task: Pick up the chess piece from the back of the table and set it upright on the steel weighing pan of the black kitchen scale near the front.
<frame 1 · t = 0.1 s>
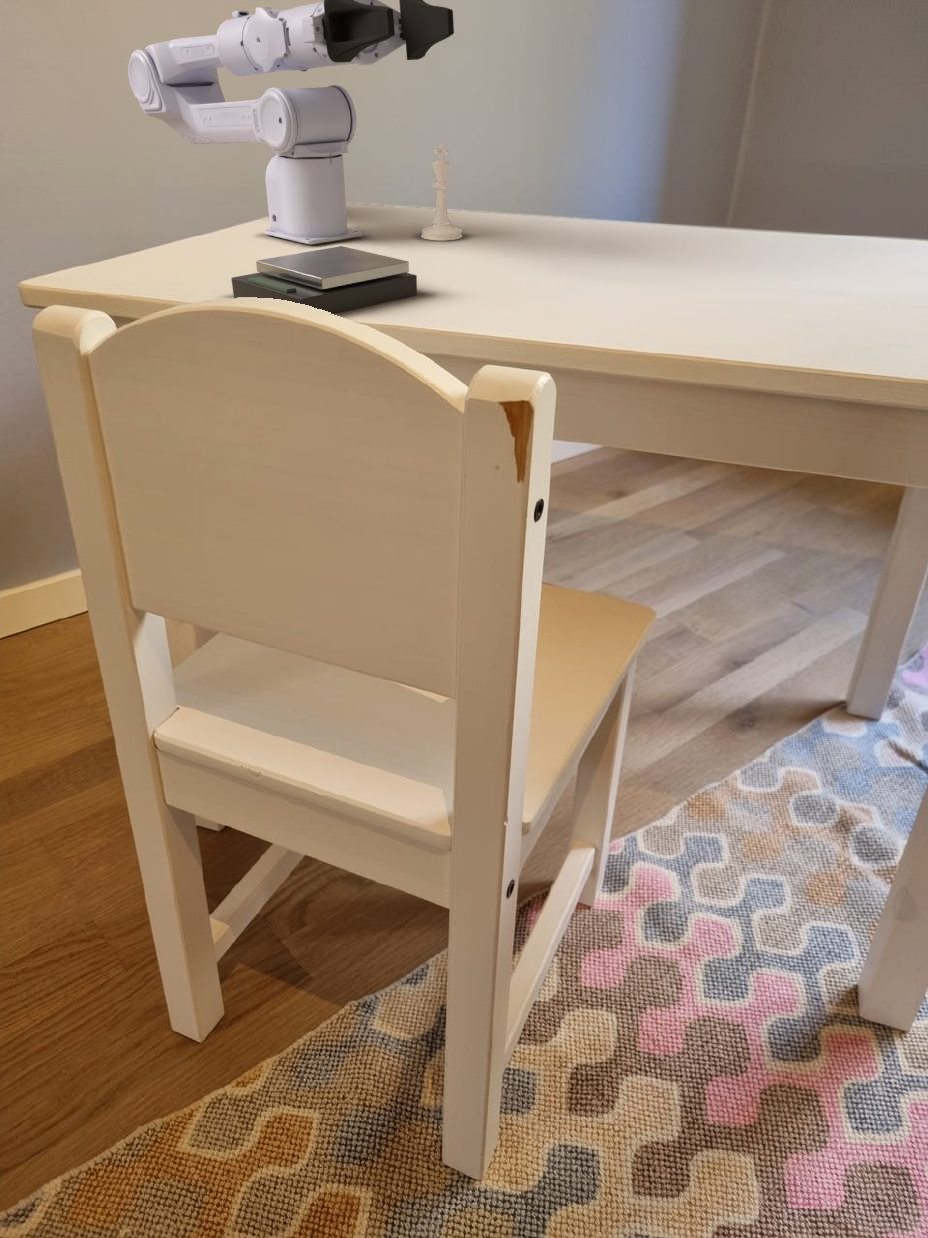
hand: (421, 21, 87), 22 cm above the table, tool horizontal, fingers open, 7 cm apart
scale: (326, 296, 86), on the table
scale pan: (332, 266, 85), point 3 cm above the table, slide at 0.0 cm
chess piece: (441, 238, 111), on the table
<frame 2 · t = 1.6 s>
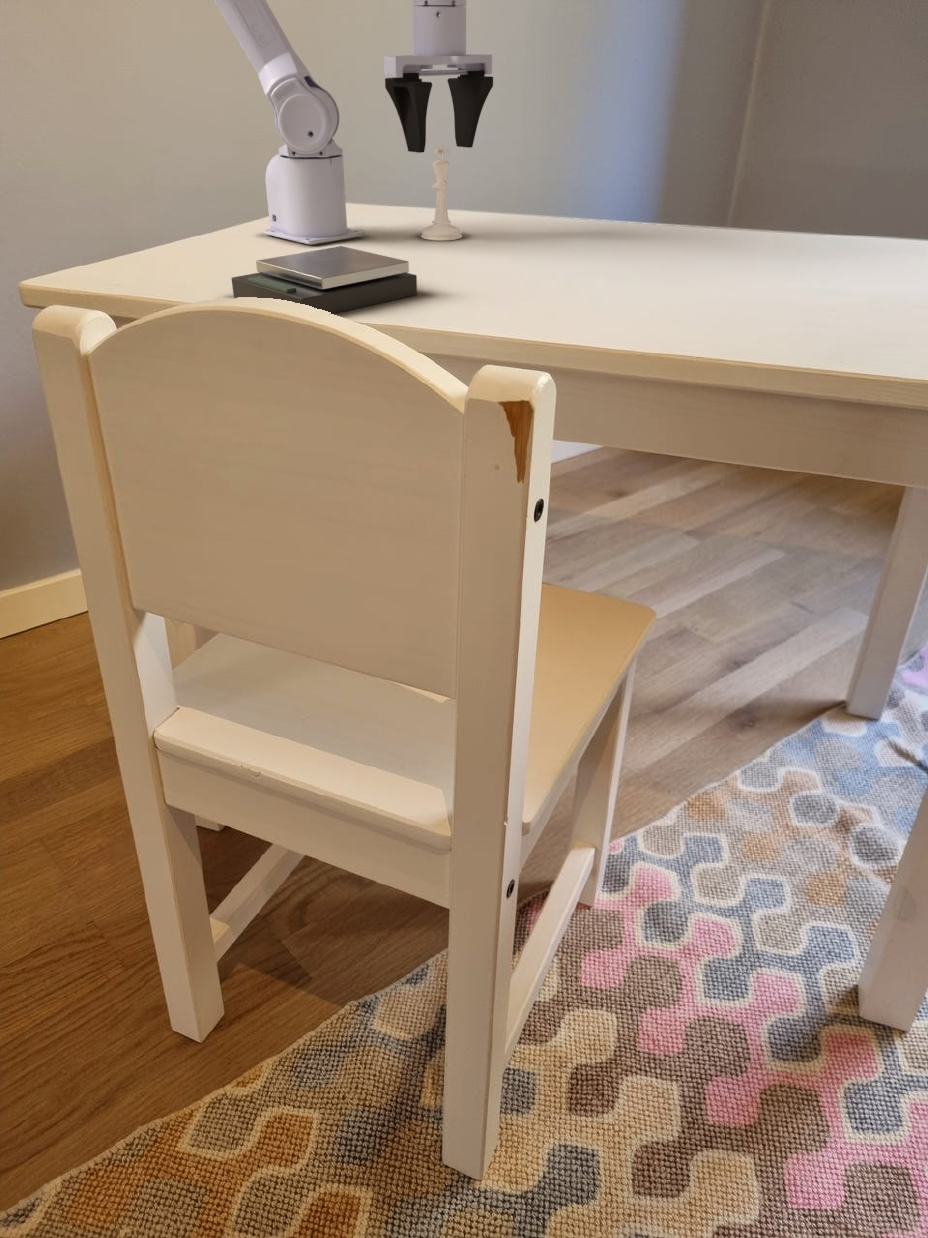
hand: (440, 149, 106), 9 cm above the table, tool pointing down, fingers open, 7 cm apart
nothing on the table moved.
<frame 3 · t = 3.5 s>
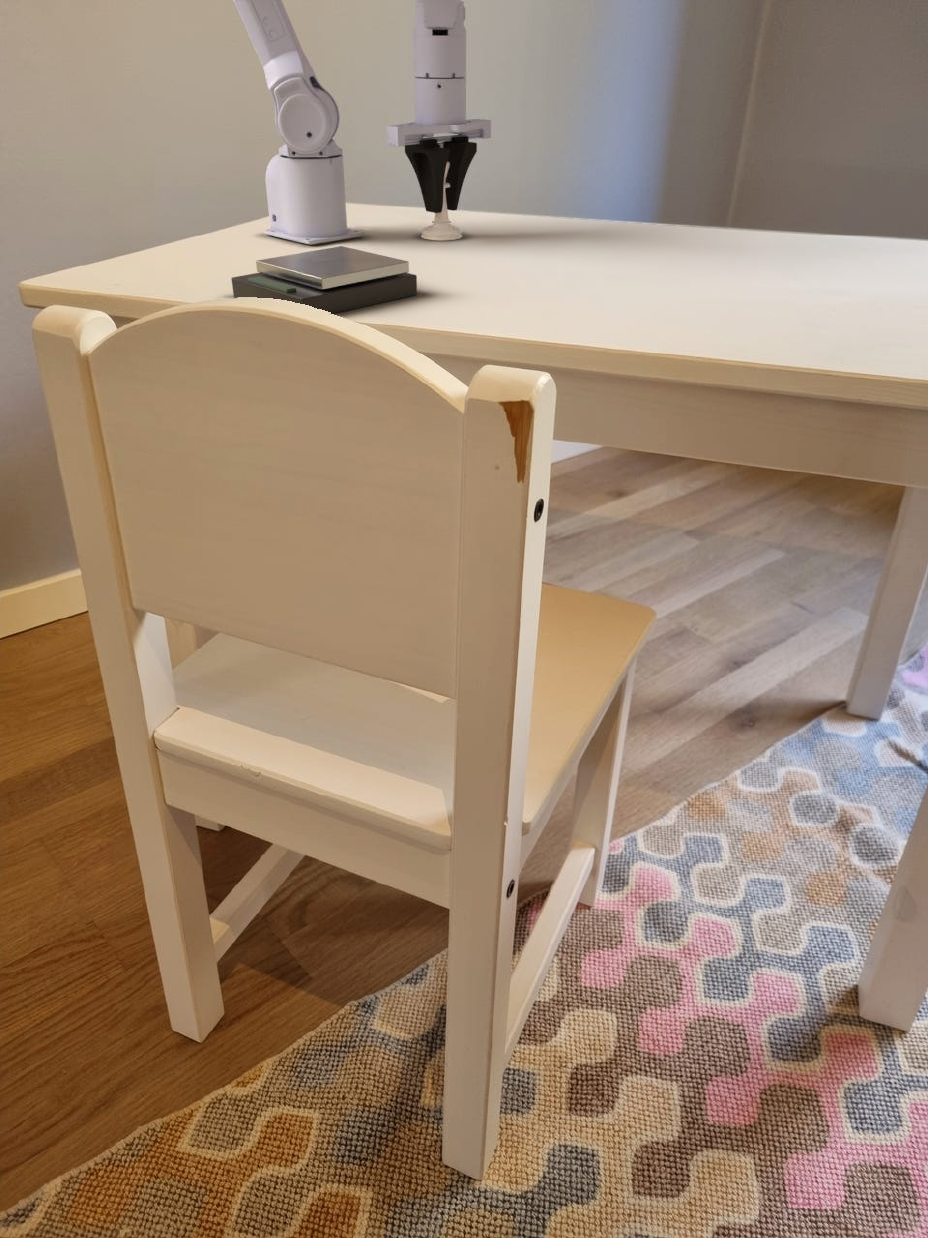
hand: (441, 210, 109), 3 cm above the table, tool pointing down, fingers closed on chess piece
chess piece: (441, 238, 111), on the table, touching gripper
everything else where it was.
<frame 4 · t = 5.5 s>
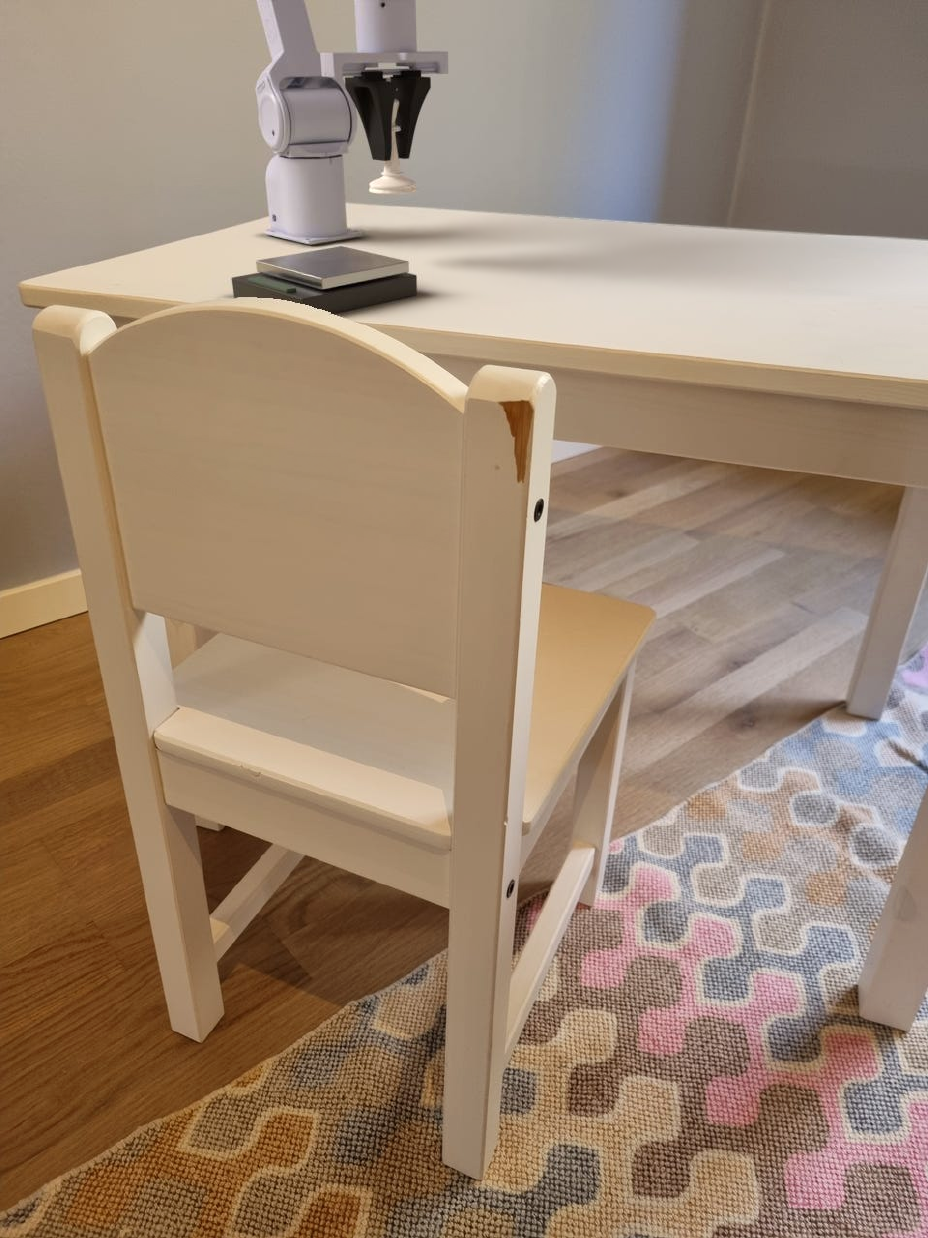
hand: (390, 158, 93), 10 cm above the table, tool pointing down, fingers closed on chess piece
chess piece: (393, 192, 95), point 7 cm above the table, touching gripper
everything else where it was.
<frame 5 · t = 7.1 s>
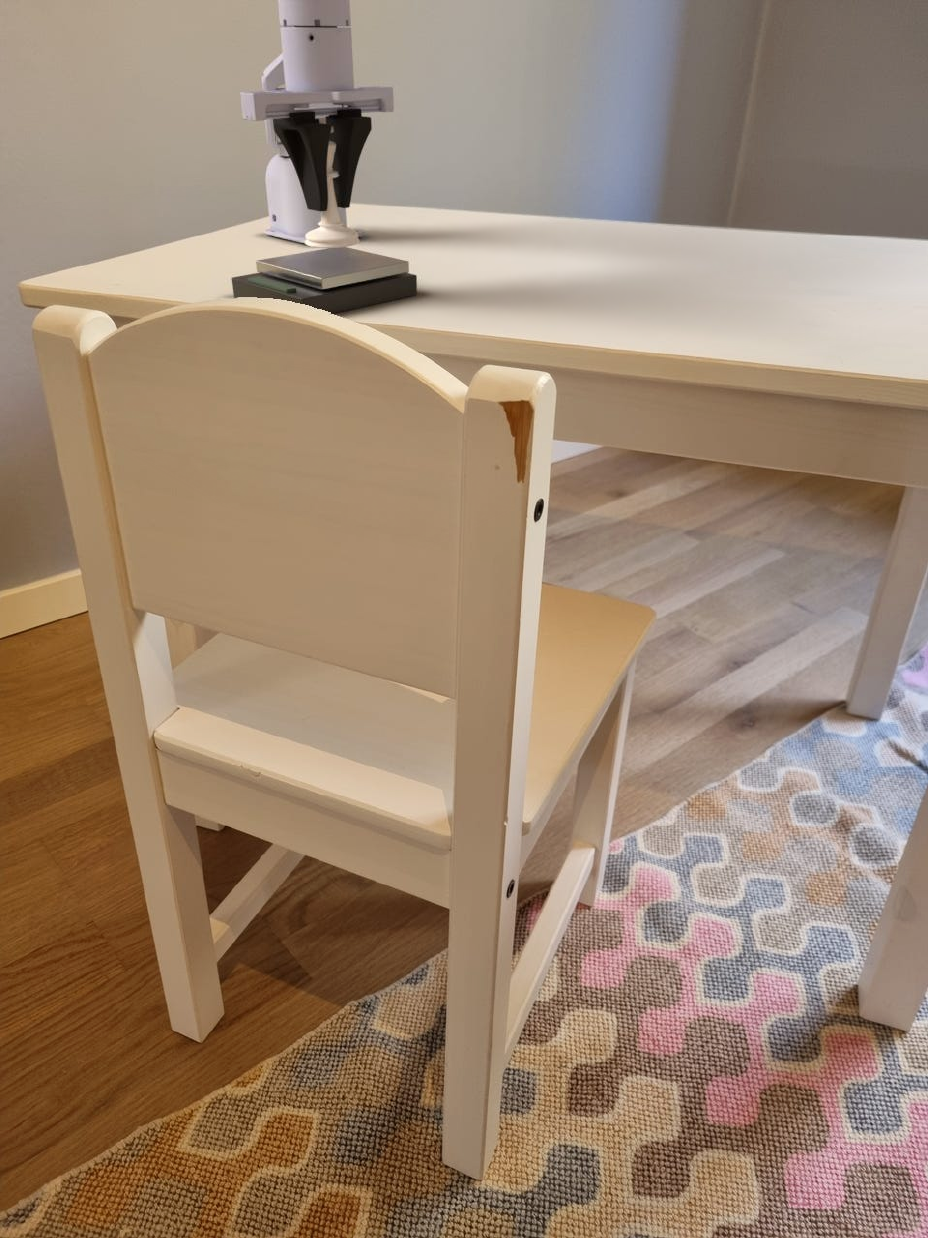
hand: (328, 208, 82), 7 cm above the table, tool pointing down, fingers closed on chess piece
chess piece: (332, 244, 84), point 4 cm above the table, touching gripper
everything else where it was.
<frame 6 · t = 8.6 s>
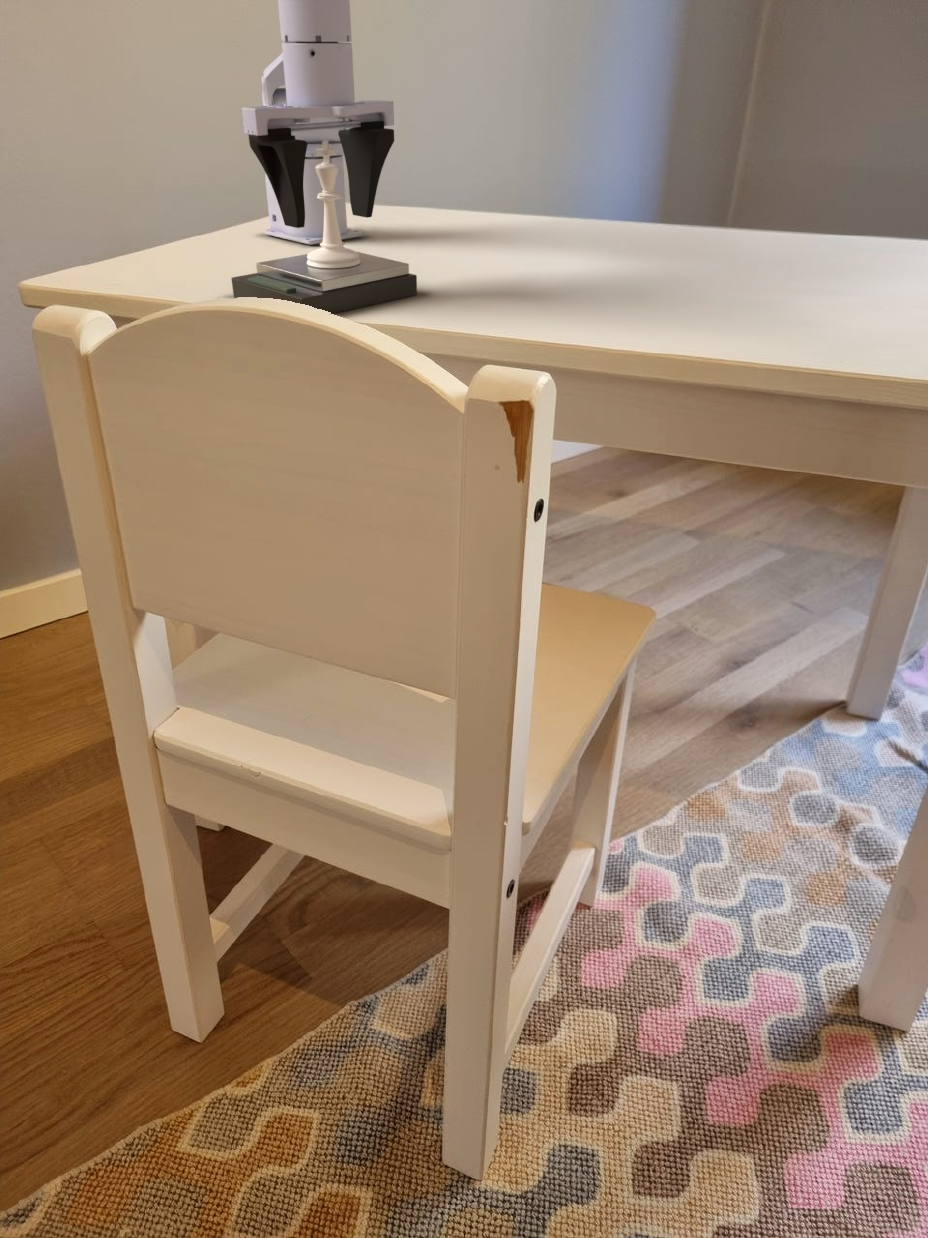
hand: (329, 220, 83), 6 cm above the table, tool pointing down, fingers open, 7 cm apart
scale pan: (332, 268, 85), point 2 cm above the table, slide at -0.2 cm, touching chess piece, scale
chess piece: (333, 265, 85), point 3 cm above the table, touching scale pan
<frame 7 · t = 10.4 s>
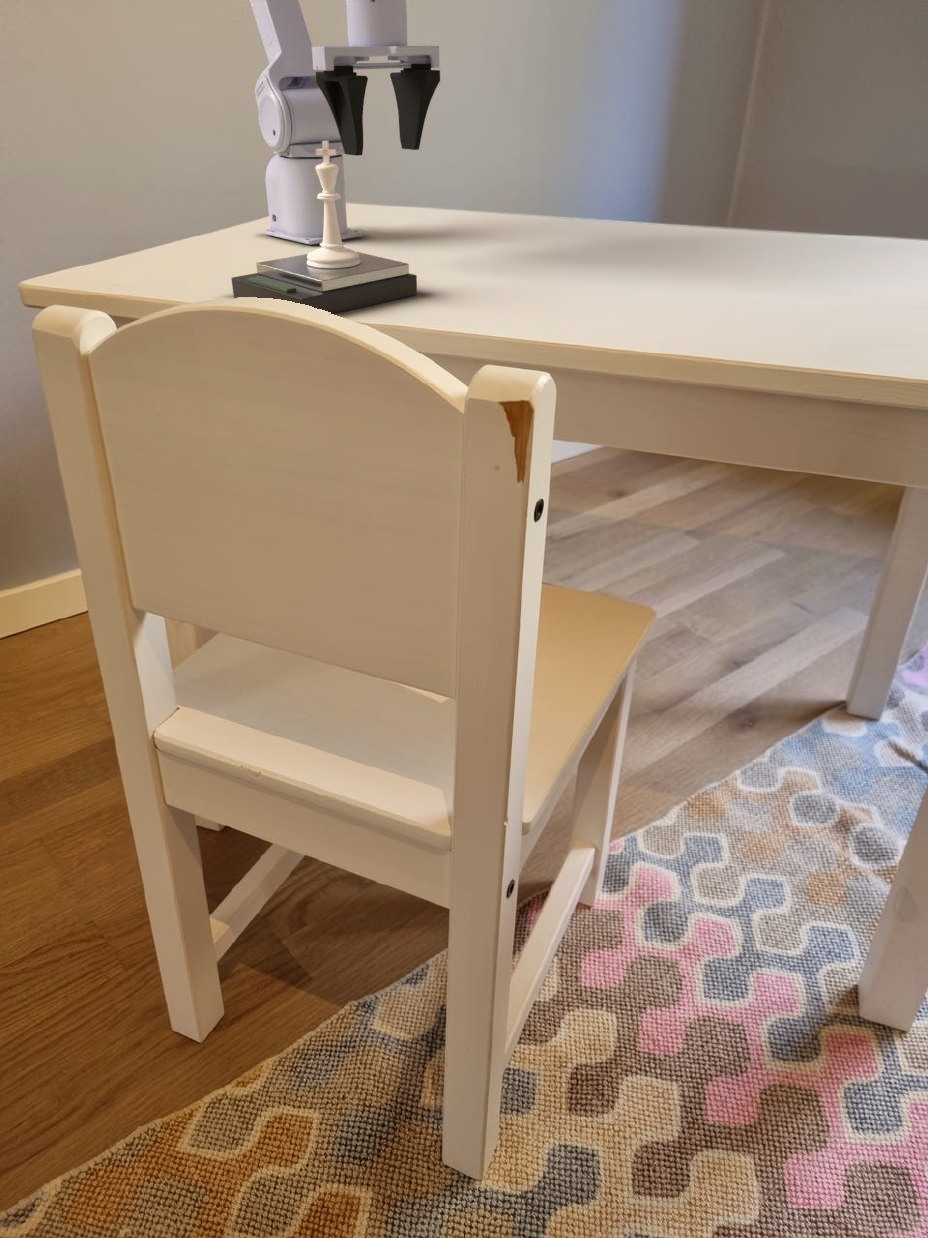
hand: (382, 151, 94), 10 cm above the table, tool pointing down, fingers open, 7 cm apart
nothing on the table moved.
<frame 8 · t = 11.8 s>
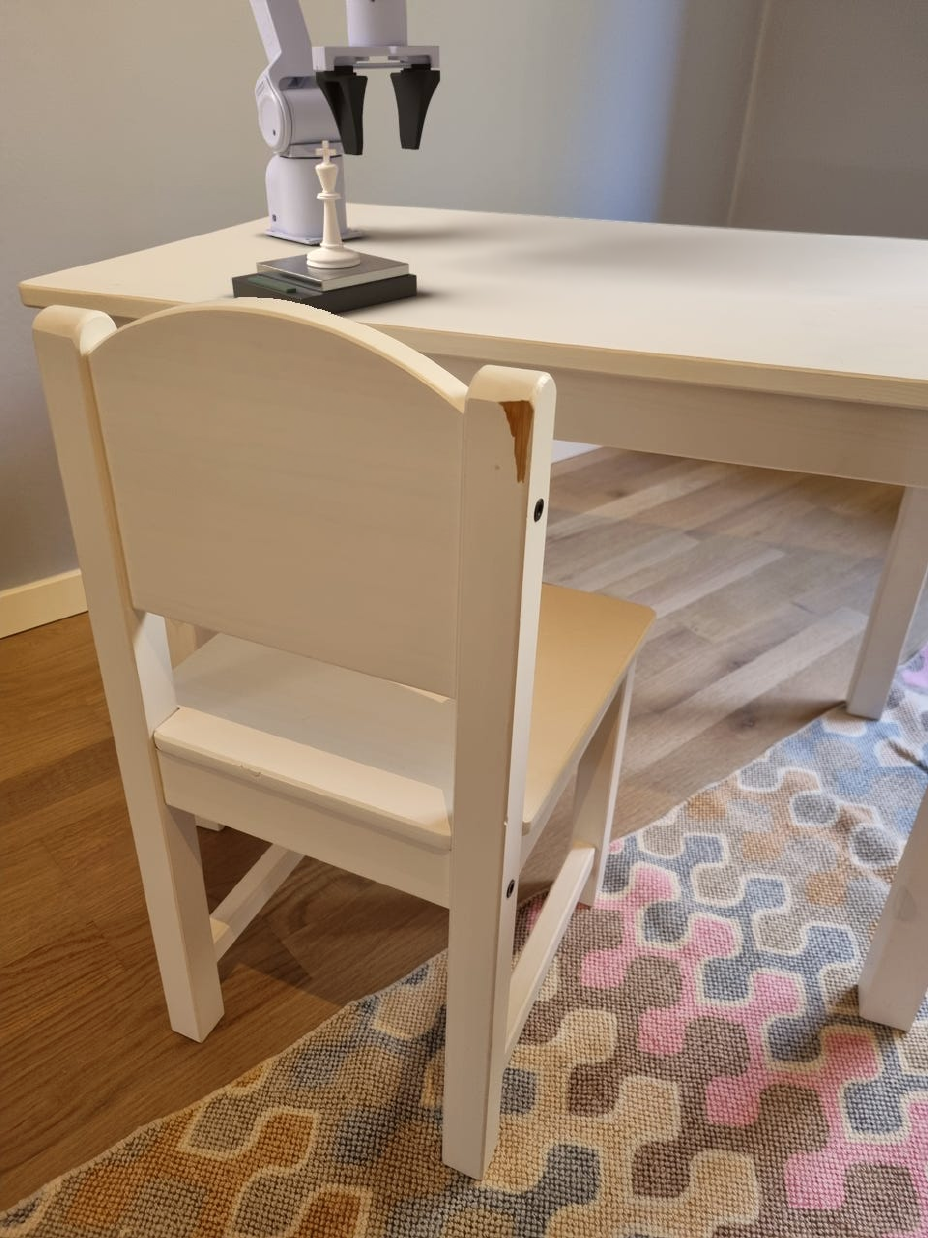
hand: (382, 151, 94), 10 cm above the table, tool pointing down, fingers open, 7 cm apart
nothing on the table moved.
at the end: chess piece inside the target area on the scale (0.1 cm from its centre), point 2.6 cm above the scale's base; chess piece tilted 0°; the gripper is holding nothing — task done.
